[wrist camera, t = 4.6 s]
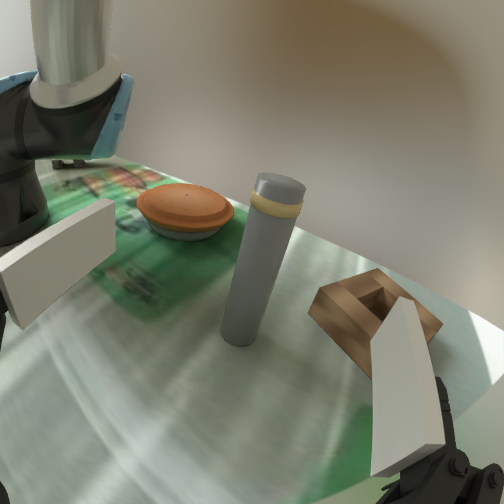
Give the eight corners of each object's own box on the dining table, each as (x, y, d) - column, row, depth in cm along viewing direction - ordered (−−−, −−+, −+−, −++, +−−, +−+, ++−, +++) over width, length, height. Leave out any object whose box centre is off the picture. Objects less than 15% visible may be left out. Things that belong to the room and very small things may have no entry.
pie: (249, 236, 46) (256, 208, 44) (164, 260, 36) (167, 227, 33) (195, 198, 54) (199, 174, 52) (122, 211, 44) (122, 184, 41)
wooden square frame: (307, 312, 33) (319, 287, 31) (366, 289, 40) (377, 267, 38) (381, 389, 25) (402, 367, 23) (427, 344, 32) (443, 324, 30)
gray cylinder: (213, 324, 28) (246, 171, 20) (244, 315, 31) (285, 173, 22) (231, 351, 26) (277, 192, 18) (263, 340, 28) (317, 192, 20)
